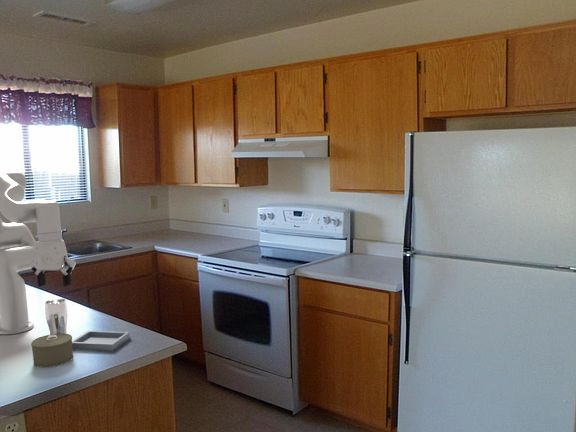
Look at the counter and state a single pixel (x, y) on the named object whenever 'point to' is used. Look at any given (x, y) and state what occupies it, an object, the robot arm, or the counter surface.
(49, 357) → the can
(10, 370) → the counter surface
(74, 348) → the tray
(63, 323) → the beer glass
